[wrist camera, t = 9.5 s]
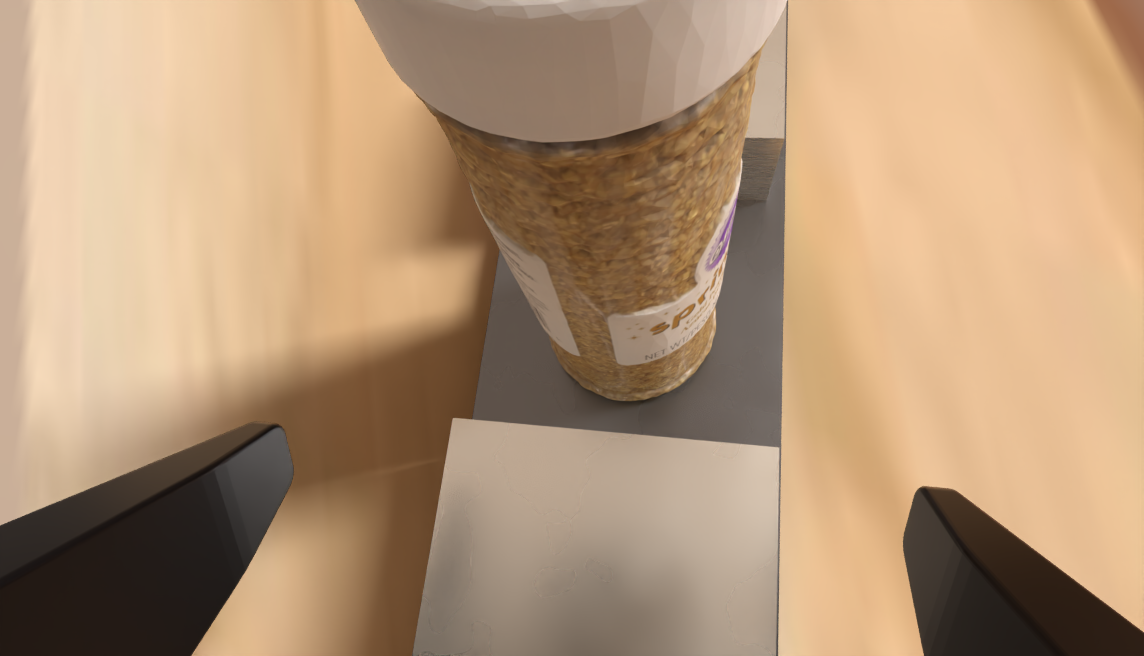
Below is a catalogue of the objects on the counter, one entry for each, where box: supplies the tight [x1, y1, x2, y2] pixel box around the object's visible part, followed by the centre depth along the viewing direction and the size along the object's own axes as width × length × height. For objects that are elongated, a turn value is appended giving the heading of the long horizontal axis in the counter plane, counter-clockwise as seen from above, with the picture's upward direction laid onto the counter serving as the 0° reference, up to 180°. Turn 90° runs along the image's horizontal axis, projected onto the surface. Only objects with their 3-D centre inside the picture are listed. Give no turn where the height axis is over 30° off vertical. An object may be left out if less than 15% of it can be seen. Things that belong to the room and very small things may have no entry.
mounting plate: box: [412, 0, 788, 656], centre depth 17 cm, size 26×8×4 cm, turn 173°
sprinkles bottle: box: [355, 0, 787, 401], centre depth 12 cm, size 5×5×14 cm
